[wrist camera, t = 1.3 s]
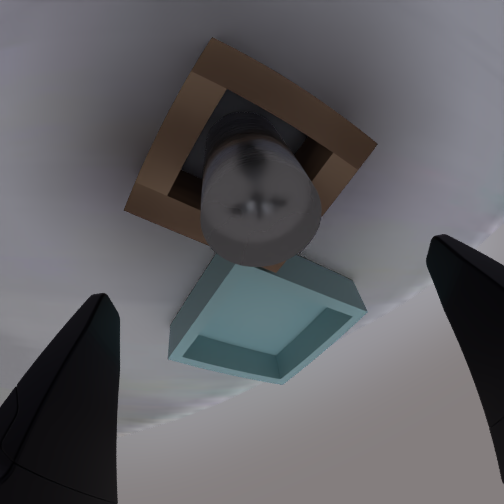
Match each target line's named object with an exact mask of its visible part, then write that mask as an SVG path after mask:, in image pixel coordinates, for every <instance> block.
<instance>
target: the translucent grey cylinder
mask: <svg viewBox="0 0 504 504" xmlns="http://www.w3.org/2000/svg"><path fill="white" fill-rule="evenodd" d="M321 213H322V209H321V201H320V197H319V195H318V192H317V190H316V188H315V187H314V185H313V183H312V182H311V180H310V179H309V177H308V176H307V174H306V173H305V171H304V170H303V168H302V166H301V165H300V163H299V162H298V160H297V159H296V157H295V156H294V155H293V153H292V152H291V150H290V149H289V147H288V146H287V144H286V143H285V141H284V140H283V138H282V137H281V136H280V134H279V133H278V131H277V130H276V129H275V127H274V126H273V125H272V123H271V122H270V121H269V120H267V119H266V118H265V117H263V116H261V115H259V114H256V113H253V112H245V111H243V112H235V113H231V114H229V115H226V116H224V117H223V118H221V119H220V120H219V121H217V122H216V123H215V124H214V126H213V127H212V128H211V130H210V131H209V134H208V136H207V139H206V145H205V157H204V169H203V182H202V197H201V212H200V223H201V229H202V232H203V236H204V238H205V240H206V242H207V243H208V244H209V246H210V247H211V248H212V249H213V250H214V251H215V252H216V253H217V254H218V255H219V256H221V257H222V258H224V259H225V260H228V261H230V262H232V263H235V264H238V265H242V266H248V267H265V266H271V265H275V264H278V263H281V262H284V261H286V260H288V259H290V258H292V257H294V256H295V255H297V254H298V253H299V252H301V251H302V250H303V249H304V248H305V247H306V246H307V245H308V244H309V243H310V241H311V240H312V239H313V237H314V236H315V234H316V232H317V230H318V227H319V224H320V220H321Z"/></svg>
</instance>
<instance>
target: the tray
mask: <svg viewBox="0 0 504 504" xmlns="http://www.w3.org/2000/svg"><path fill="white" fill-rule="evenodd" d="M367 312H368V311H367V309H366V307H365V305H364V303H363V301H362V299H361V297H360V295H359V293H358V290H357V288H356V286H355V284H354V282H353V280H351V279H348V278H346V277H344V276H342V275H340V274H338V273H335V272H333V271H331V270H329V269H327V268H325V267H322V266H320V265H318V264H316V263H314V262H312V261H309V260H307V259H305V258H303V257H301V256H298V255H295V256H294V257H292V258H290V259H288V260H286V262H285V263H284V264H283V265H282V267H281V268H280V269H279V270H278V271H277V273H275V272H272V271H270V270H267V269H265V268H262V267H248V266H242V265H238V264H235V263H232V262H230V261H228V260H225V259H224V258H222V257H221V256H219V255H218V254H217V253H216V255H215V256H214V258H213V259H212V261H211V262H210V264H209V265H208V267H207V268H206V270H205V272H204V273H203V275H202V276H201V278H200V279H199V281H198V282H197V284H196V286H195V287H194V289H193V290H192V292H191V293H190V295H189V297H188V298H187V300H186V301H185V303H184V304H183V306H182V308H181V309H180V311H179V312H178V314H177V315H176V317H175V319H174V320H173V322H172V323H171V325H170V337H169V350H168V359H169V360H173V361H176V362H180V363H184V364H188V365H191V366H195V367H199V368H203V369H207V370H212V371H216V372H220V373H225V374H229V375H234V376H238V377H243V378H248V379H253V380H258V381H264V382H269V383H275V384H280V385H283V384H284V383H286V382H287V381H288V380H289V379H290V378H292V377H293V376H294V375H296V374H297V373H298V372H299V371H301V370H302V369H303V368H304V367H306V366H307V365H308V364H309V363H311V362H312V361H313V360H314V359H315V358H317V357H318V356H319V355H320V354H321V353H323V352H324V351H325V350H326V349H327V348H328V347H330V346H331V345H332V344H333V343H334V342H335V341H336V340H338V339H339V338H340V337H341V336H342V335H343V334H344V333H345V332H347V331H348V330H349V329H350V328H351V327H352V326H353V325H354V324H355V323H356V322H358V321H359V320H360V319H361V318H362V317H363V316H364V315H365V314H366V313H367Z"/></svg>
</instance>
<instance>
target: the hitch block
mask: <svg viewBox="0 0 504 504" xmlns="http://www.w3.org/2000/svg"><path fill="white" fill-rule="evenodd" d="M227 89H228V90H230V91H232V92H234V93H236V94H237V95H239V96H241V97H243V98H245V99H247V100H249V101H250V102H252V103H254V104H256V105H257V106H259V107H261V108H263V109H264V110H266V111H268V112H270V113H271V114H273V115H275V116H276V117H278V118H280V119H281V120H283V121H285V122H286V123H288V124H290V125H291V126H293V127H295V128H296V129H298V130H299V131H301V132H303V133H304V134H306V135H307V136H308V137H307V138H306V140H305V141H304V143H303V144H302V145H301V147H300V148H299V150H298V151H297V153H296V154H295V155H294V156H295V157H296V159H297V160H298V162H299V163H300V165H301V166H302V168H303V170H304V171H305V173H306V174H307V176H308V177H309V179H310V180H311V182H312V183H313V185H314V187H315V188H316V190H317V192H318V195H319V197H320V201H321V209H322V213H321V217H322V216H323V214H324V213H325V212H326V211H327V209H328V208H329V207H330V206H331V204H332V203H333V202H334V200H335V199H336V198H337V197H338V195H339V194H340V193H341V191H342V190H343V189H344V188H345V186H346V185H347V184H348V182H349V181H350V180H351V179H352V177H353V176H354V175H355V173H356V172H357V171H358V170H359V168H360V167H361V166H362V164H363V163H364V162H365V160H366V159H367V158H368V156H369V155H370V154H371V152H372V151H373V150H374V149H375V147H376V146H377V145H378V144H377V143H376V142H375V141H373V140H372V139H371V138H370V137H368V136H367V135H366V134H365V133H363V132H362V131H361V130H360V129H358V128H357V127H356V126H354V125H353V124H352V123H351V122H349V121H348V120H347V119H345V118H344V117H343V116H341V115H340V114H338V113H337V112H336V111H334V110H333V109H332V108H330V107H329V106H327V105H326V104H325V103H323V102H322V101H320V100H319V99H317V98H316V97H314V96H313V95H311V94H310V93H308V92H307V91H305V90H304V89H302V88H301V87H299V86H298V85H296V84H295V83H293V82H292V81H290V80H288V79H287V78H285V77H284V76H282V75H280V74H279V73H277V72H275V71H274V70H272V69H270V68H269V67H267V66H265V65H263V64H262V63H260V62H258V61H256V60H255V59H253V58H251V57H249V56H247V55H246V54H244V53H242V52H240V51H238V50H236V49H234V48H233V47H231V46H229V45H227V44H225V43H223V42H221V41H219V40H217V39H215V38H213V37H212V38H211V40H210V41H209V43H208V44H207V46H206V47H205V49H204V51H203V52H202V54H201V55H200V57H199V59H198V60H197V62H196V64H195V65H194V67H193V69H192V70H191V72H190V74H189V76H188V77H187V79H186V81H185V82H184V84H183V86H182V88H181V90H180V91H179V93H178V95H177V97H176V99H175V101H174V102H173V104H172V106H171V108H170V110H169V112H168V114H167V116H166V118H165V120H164V121H163V123H162V125H161V127H160V129H159V131H158V133H157V136H156V138H155V140H154V142H153V144H152V146H151V148H150V150H149V152H148V154H147V157H146V159H145V161H144V163H143V165H142V168H141V170H140V172H139V174H138V177H137V179H136V181H135V184H134V186H133V188H132V191H131V193H130V196H129V198H128V201H127V203H126V206H125V208H124V211H126V212H129V213H131V214H134V215H136V216H138V217H141V218H143V219H146V220H148V221H150V222H153V223H155V224H158V225H160V226H162V227H165V228H167V229H170V230H172V231H174V232H177V233H179V234H182V235H184V236H186V237H189V238H191V239H194V240H196V241H199V242H201V243H203V244H206V245H208V246H209V244H208V243H207V242H206V240H205V238H204V236H203V232H202V229H201V223H200V212H201V197H202V182H203V179H200V178H198V177H196V176H194V175H192V174H190V173H187V172H185V171H183V170H181V168H182V166H183V164H184V162H185V160H186V159H187V157H188V155H189V153H190V151H191V149H192V148H193V146H194V144H195V142H196V140H197V139H198V137H199V135H200V133H201V132H202V130H203V128H204V126H205V125H206V123H207V121H208V119H209V118H210V116H211V114H212V113H213V111H214V109H215V108H216V106H217V104H218V103H219V101H220V99H221V98H222V96H223V94H224V93H225V91H226V90H227ZM285 262H286V261H284V262H281V263H278V264H275V265H271V266H265V267H262V268H265V269H267V270H270V271H272V272H275V273H277V271H278V270H279V269H280V268H281V267H282V265H283V264H284V263H285Z"/></svg>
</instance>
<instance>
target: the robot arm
mask: <svg viewBox="0 0 504 504" xmlns="http://www.w3.org/2000/svg"><path fill="white" fill-rule="evenodd" d="M426 264H427V268H428V270H429V273H430V275H431V278H432V280H433V283H434V285H435V288H436V290H437V293H438V296H439V298H440V301H441V304H442V306H443V308H444V311H445V313H446V316H447V318H448V320H449V322H450V324H451V327H452V329H453V331H454V333H455V336H456V338H457V340H458V342H459V345H460V347H461V350H462V352H463V354H464V357H465V359H466V362H467V364H468V367H469V370H470V372H471V375H472V377H473V380H474V383H475V386H476V388H477V391H478V394H479V397H480V400H481V403H482V406H483V409H484V412H485V416H486V419H487V422H488V425H489V430H490V433H491V436H492V440H493V444H494V448H495V452H496V456H497V460H498V465H499V469H500V474H501V479H502V482H503V483H504V266H503V265H502V264H500V263H499V262H497V261H495V260H493V259H492V258H489V257H488V256H486V255H484V254H482V253H481V252H479V251H477V250H475V249H473V248H471V247H470V246H468V245H466V244H464V243H462V242H460V241H458V240H456V239H454V238H452V237H450V236H448V235H446V234H441V235H436V236H434V237H433V238H432V239H431V243H430V247H429V250H428V254H427V258H426ZM119 378H120V317H119V314H118V312H117V310H116V308H115V307H114V305H113V303H112V302H111V300H110V298H109V297H108V295H107V294H105V293H99V294H93V295H91V296H90V297H89V298H88V299H87V300H86V302H85V303H84V304H83V305H82V306H81V307H80V308H79V309H78V311H77V312H76V313H75V314H74V315H73V316H72V317H71V319H70V320H69V321H68V322H67V323H66V324H65V326H64V327H63V328H62V329H61V330H60V331H59V333H58V334H57V335H56V336H55V337H54V339H53V340H52V341H51V342H50V343H49V345H48V346H47V347H46V348H45V349H44V351H43V352H42V353H41V354H40V356H39V357H38V358H37V359H36V361H35V362H34V363H33V364H32V366H31V367H30V368H29V370H28V371H27V372H26V373H25V375H24V376H23V377H22V379H21V380H20V381H19V383H18V384H17V387H15V388H14V389H13V391H12V392H11V393H10V395H9V396H8V397H7V399H6V400H5V401H4V403H3V404H2V405H1V407H0V504H117V503H118V500H117V470H116V439H117V409H118V391H119Z"/></svg>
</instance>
